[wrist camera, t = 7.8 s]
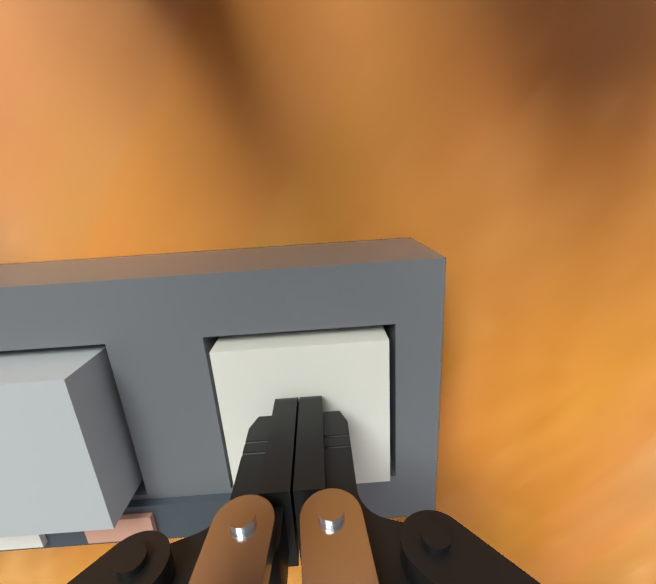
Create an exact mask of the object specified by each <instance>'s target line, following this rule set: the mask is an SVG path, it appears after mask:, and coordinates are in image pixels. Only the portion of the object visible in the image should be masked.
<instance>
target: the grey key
mask: <svg viewBox="0 0 656 584" xmlns="http://www.w3.org/2000/svg"><path fill="white" fill-rule="evenodd" d="M142 480H143V477H142V473H141V470H140V466H139V463H138V459H137V456H136V452H135V449H134V445H133V442H132V438H131V435H130V431H129V427H128V424H127V420H126V417H125V413H124V410H123V406H122V403H121V399H120V396H119V392H118V388H117V385H116V381H115V378H114V374H113V371H112V367H111V364H110V360H109V357H108V353H107V350H106V346H105V344H99V345H84V346H70V347H55V348H41V349H26V350H12V351H0V538H1V537H15V536H28V535H41V534H54V533H67V532H80V531H93V530H106V529H114V528H115V526H116V524H117V523H118V521H119V519H120V518H121V516H122V514H123V512H124V511H125V509H126V507H127V506H128V504H129V502H130V500H131V499H132V497H133V495H134V494H135V492H136V490H137V488H138V487H139V485H140V483H141V482H142Z"/></svg>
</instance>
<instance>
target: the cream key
mask: <svg viewBox="0 0 656 584" xmlns="http://www.w3.org/2000/svg"><path fill="white" fill-rule="evenodd" d="M209 354H210V359H211V365H212V370H213V376H214V381H215V387H216V392H217V398H218V403H219V409H220V414H221V419H222V425H223V430H224V436H225V441H226V447H227V452H228V458H229V463H230V469H231V474H232V480H233V485H234V483H235V479H236V475H237V471H238V468H239V464H240V460H241V456H242V453H243V449H244V445H245V441H246V438H247V434H248V430H249V428H250V427H251V425H252V424H253V423H254V422H255V420H256V419H257V418H258V417H260V416H272V412H273V407H274V401H275V399H281V398H295V397H298V399H299V398H300V397H308V396H322V402H323V412H328V411H340V412H341V413H342V415H343V416H344V417H345V419H346V420H347V421H348V428H349V436H350V442H351V449H352V456H353V463H354V471H355V478H356V484H358V483H372V482H385V481H390V380H389V339H388V336H387V334H386V332H385V330H384V328H383V326H382V325H373V326H359V327H344V328H330V329H316V330H301V331H287V332H272V333H258V334H243V335H229V336H219V338H218V340H217V341H216V343H215V344H214V346H213V348H212V349H211V351H210V352H209Z"/></svg>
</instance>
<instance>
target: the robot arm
mask: <svg viewBox="0 0 656 584" xmlns="http://www.w3.org/2000/svg"><path fill="white" fill-rule="evenodd" d="M299 550H300V558H301V565H302V584H540V583H539V582H538V581H536V580H535V579H534V578H532V577H531V576H530V575H528V574H527V573H526V572H524V571H523V570H522V569H520V568H519V567H518V566H516V565H515V564H514V563H512V562H511V561H509V560H508V559H507V558H505V557H504V556H503V555H501V554H500V553H499V552H497V551H496V550H495V549H493V548H492V547H491V546H489V545H488V544H487V543H485V542H484V541H483V540H481V539H480V538H479V537H477V536H476V535H475V534H473V533H472V532H471V531H469V530H468V529H467V528H465V527H464V526H463V525H461V524H460V523H459V522H457V521H456V520H454V519H453V518H451V517H450V516H448V515H446V514H444V513H441V512H438V511H434V510H422V511H418V512H415V513H413V514H411V515H410V516H409V517H408V518H407V519H406V520H405V521H404V523H402V522H398V521H394V520H390V519H386V518H383V517H380V516H378V515H376V514H375V513H373V512H371V511H370V510H369V509H368V508H367V507H366V506H365V505H364V504H363V502H362V501H361V499H360V497H359V495H358V491H357V485H356V478H355V471H354V463H353V456H352V449H351V442H350V436H349V428H348V421H347V420H346V419H345V417H344V416H343V415H342V413H341V412H340V411H328V412H323V402H322V396H308V397H300V398H299V399H298V397H295V398H281V399H275V401H274V407H273V412H272V416H260V417H258V418H257V419H256V420H255V422H254V423H253V424H252V425H251V427H250V428H249V430H248V434H247V438H246V441H245V445H244V449H243V453H242V456H241V460H240V464H239V468H238V471H237V475H236V479H235V483H234V486H233V490H232V494H231V498H230V501H229V502H228V503H226V504H225V505H224V506H223V507H222V508H221V509H220V510H219V511H218V512H217V514H216V515H215V517H214V519H213V521H212V523H211V526H209V527H208V528H206V529H204V530H203V531H201V532H199V533H197V534H194V535H192V536H189V537H186V538H184V539H181V540H179V541H176V542H173V543H171V544H170V543H169V540H168V538H167V537H166V536H165V535H164V534H163V533H161V532H159V531H154V530H147V531H142V532H139V533H135V534H133V535H131V536H129V537H127V538H125V539H124V540H122V541H121V542H119V543H118V544H117V545H115V546H114V547H113V548H111V549H110V550H109V551H108V552H106V553H105V554H104V555H103V556H101V557H100V558H99V559H98V560H96V561H95V562H94V563H93V564H91V565H90V566H89V567H87V568H86V569H85V570H84V571H82V572H81V573H80V574H79V575H77V576H76V577H75V578H74V579H72V580H71V581H70V582H69V583H67V584H287V578H288V567H290V566H299Z"/></svg>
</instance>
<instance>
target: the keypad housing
mask: <svg viewBox="0 0 656 584" xmlns="http://www.w3.org/2000/svg"><path fill="white" fill-rule="evenodd" d="M445 272H446V257H444V256H442V255H440V254H439V253H437V252H435V251H433V250H432V249H430V248H428V247H426V246H425V245H423V244H421V243H419V242H418V241H416V240H414V239H412V238H411V237H410V238H395V239H380V240H364V241H349V242H334V243H319V244H303V245H288V246H273V247H258V248H243V249H227V250H212V251H197V252H182V253H166V254H151V255H136V256H121V257H105V258H90V259H75V260H60V261H45V262H29V263H14V264H0V351H12V350H26V349H41V348H55V347H70V346H84V345H99V344H105V346H106V350H107V353H108V357H109V360H110V364H111V367H112V371H113V374H114V378H115V381H116V385H117V388H118V392H119V396H120V399H121V403H122V406H123V410H124V413H125V417H126V420H127V424H128V427H129V431H130V435H131V438H132V442H133V445H134V449H135V452H136V456H137V459H138V463H139V466H140V470H141V473H142V477H143V480H142V482H141V483H140V485H139V487H138V488H137V490H136V492H135V494H134V495H133V497H132V499H131V500H130V502H129V504H128V506H127V507H126V509H125V511H124V512H123V514H122V516H121V518H120V519H119V521H118V523H117V524H116V526H115V528H114V529H106V530H93V531H80V532H67V533H54V534H41V535H28V536H15V537H1V538H0V551H12V550H25V549H38V548H51V547H64V546H77V545H90V544H103V543H116V542H121V541H122V540H124V539H125V538H127V537H129V536H131V535H133V534H135V533H139V532H142V531H147V530H154V531H159V532H161V533H163V534H164V535H165V536H166V537H167V538H180V537H189V536H192V535H194V534H197V533H199V532H201V531H203V530H204V529H206V528H208V527H209V526H211V523H212V521H213V519H214V517H215V515H216V514H217V512H218V511H219V510H220V509H221V508H222V507H223V506H224V505H225V504H226V503H228V502H229V501H230V498H231V494H232V490H233V486H234V485H233V480H232V474H231V469H230V463H229V458H228V452H227V447H226V441H225V436H224V430H223V425H222V419H221V414H220V409H219V403H218V398H217V392H216V387H215V381H214V376H213V370H212V365H211V359H210V354H209V352H210V351H211V349H212V348H213V346H214V344H215V343H216V341H217V340H218V338H219V336H229V335H243V334H258V333H272V332H287V331H301V330H316V329H330V328H344V327H359V326H373V325H382V326H383V328H384V330H385V332H386V334H387V336H388V339H389V380H390V481H385V482H372V483H358V484H356V485H357V491H358V495H359V497H360V499H361V501H362V502H363V504H364V505H365V506H366V507H367V508H368V509H369V510H370V511H371V512H373V513H375V514H376V515H378V516H380V517H383V518H394V517H407V516H410V515H411V514H413V513H415V512H418V511H422V510H434V511H435V498H436V475H437V453H438V430H439V407H440V385H441V362H442V340H443V317H444V295H445Z"/></svg>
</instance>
